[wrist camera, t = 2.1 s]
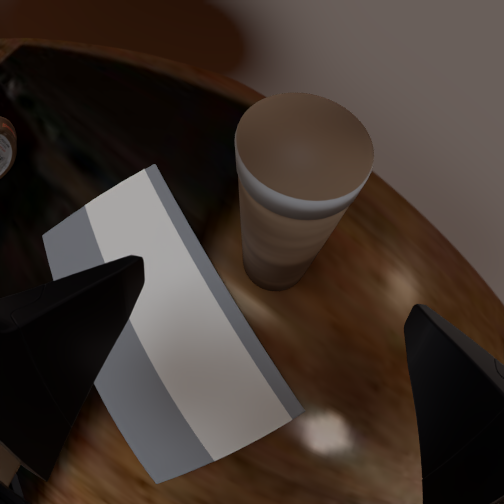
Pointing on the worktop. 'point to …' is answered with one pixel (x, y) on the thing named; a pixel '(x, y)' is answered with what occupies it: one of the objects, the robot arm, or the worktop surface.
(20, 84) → the worktop surface
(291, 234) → the beige tapered cylinder
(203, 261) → the slate-grey panel
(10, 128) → the tin
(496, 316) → the worktop surface
